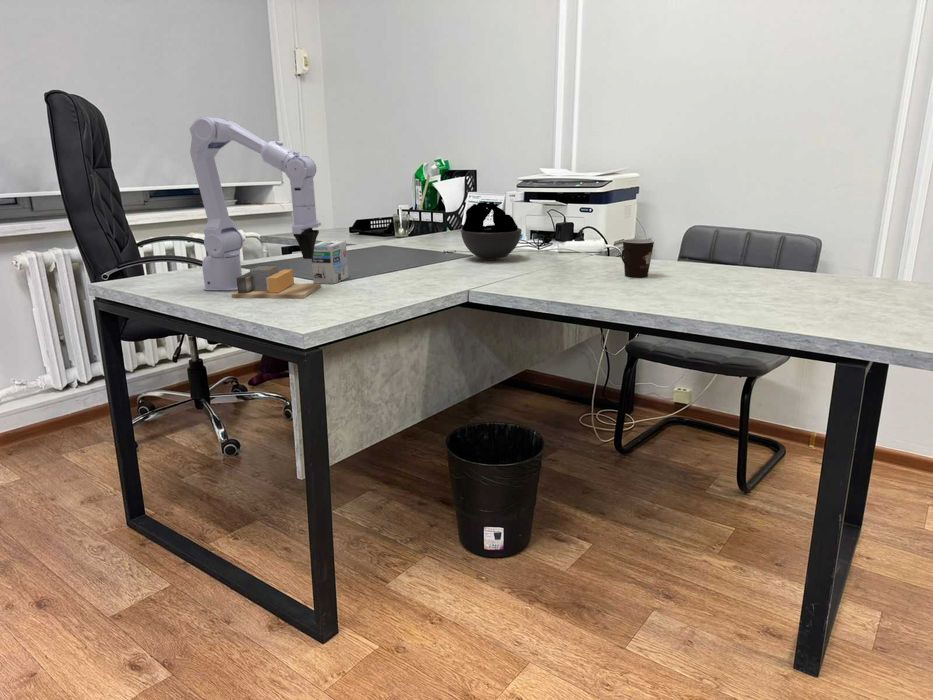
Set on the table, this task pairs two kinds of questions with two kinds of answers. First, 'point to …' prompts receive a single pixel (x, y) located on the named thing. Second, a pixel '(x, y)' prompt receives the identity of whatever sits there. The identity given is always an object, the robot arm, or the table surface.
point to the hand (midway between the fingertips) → (308, 258)
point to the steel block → (261, 277)
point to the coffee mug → (637, 257)
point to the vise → (290, 292)
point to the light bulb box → (330, 262)
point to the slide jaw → (280, 281)
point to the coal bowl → (489, 232)
